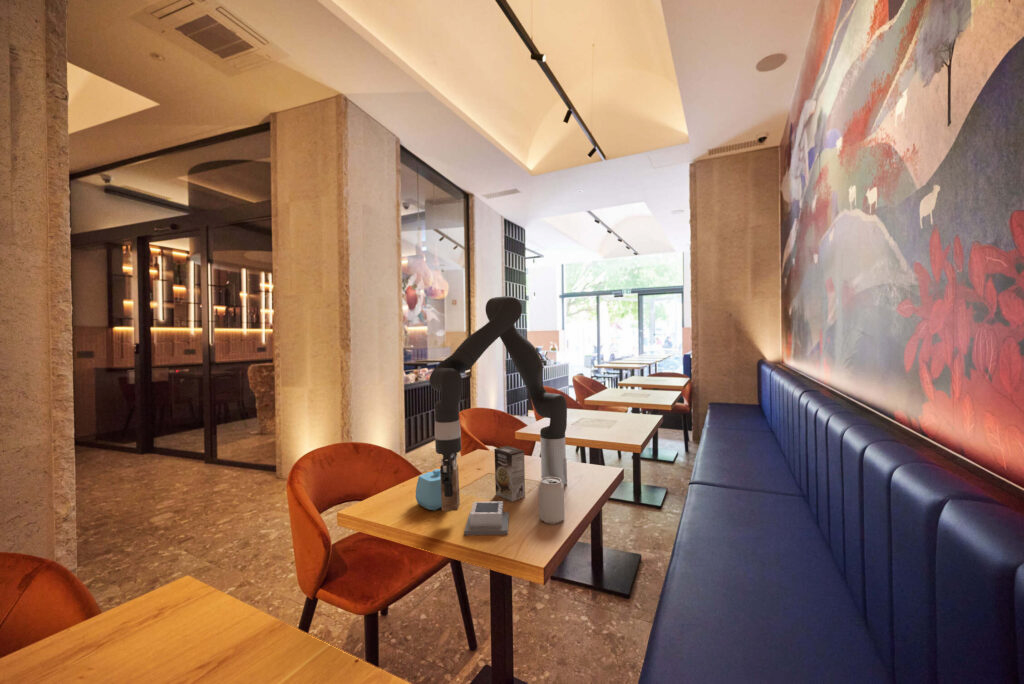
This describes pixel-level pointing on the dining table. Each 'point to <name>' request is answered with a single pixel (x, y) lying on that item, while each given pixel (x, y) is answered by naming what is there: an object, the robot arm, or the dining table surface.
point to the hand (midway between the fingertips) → (450, 492)
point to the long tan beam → (453, 501)
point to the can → (551, 500)
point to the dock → (487, 519)
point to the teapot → (429, 490)
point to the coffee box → (509, 473)
